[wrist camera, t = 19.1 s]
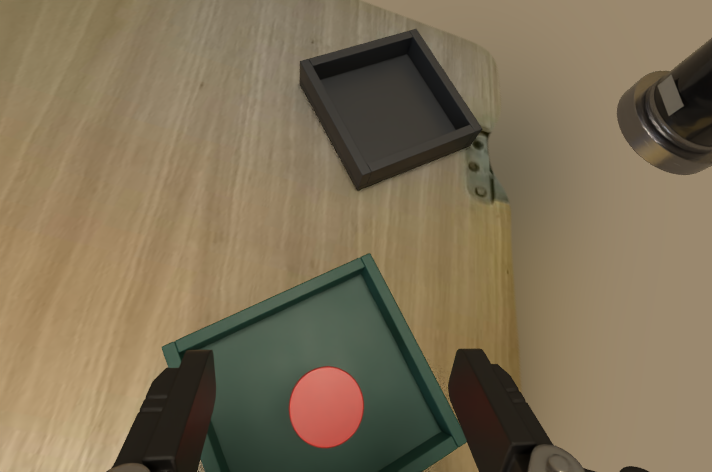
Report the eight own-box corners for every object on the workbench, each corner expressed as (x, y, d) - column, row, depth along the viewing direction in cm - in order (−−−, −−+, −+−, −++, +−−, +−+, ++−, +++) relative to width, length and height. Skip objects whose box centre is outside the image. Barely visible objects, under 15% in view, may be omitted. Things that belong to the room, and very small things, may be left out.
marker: (327, 360, 27) (343, 353, 17) (347, 405, 26) (377, 423, 16) (283, 383, 26) (276, 388, 16) (303, 430, 25) (308, 464, 16)
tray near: (364, 262, 30) (370, 252, 28) (453, 435, 27) (468, 441, 24) (173, 349, 26) (160, 346, 24) (250, 565, 23) (245, 588, 20)
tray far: (408, 50, 38) (416, 28, 35) (469, 145, 35) (482, 128, 33) (299, 82, 35) (299, 60, 32) (357, 190, 32) (362, 175, 29)
